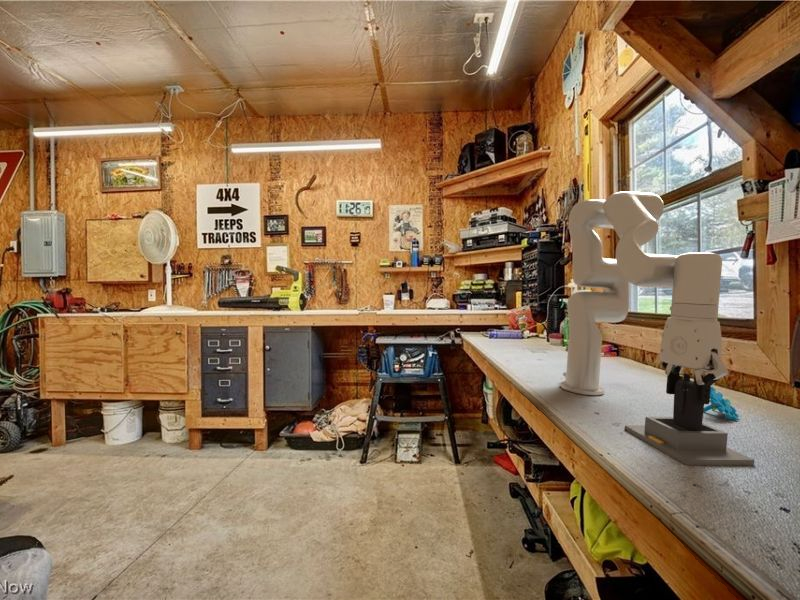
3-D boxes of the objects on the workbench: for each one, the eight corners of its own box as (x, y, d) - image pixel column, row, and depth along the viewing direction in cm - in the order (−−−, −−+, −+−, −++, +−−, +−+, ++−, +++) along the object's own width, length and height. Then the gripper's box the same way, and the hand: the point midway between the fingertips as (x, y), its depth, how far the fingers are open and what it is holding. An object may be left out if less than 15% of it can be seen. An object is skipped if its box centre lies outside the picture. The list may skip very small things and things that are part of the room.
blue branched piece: (731, 418, 88) (701, 382, 94) (708, 428, 91) (680, 393, 98) (749, 418, 93) (719, 384, 99) (726, 427, 97) (698, 394, 103)
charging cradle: (624, 429, 82) (625, 410, 82) (680, 430, 83) (681, 411, 83) (685, 465, 66) (687, 441, 66) (754, 465, 67) (756, 441, 67)
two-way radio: (706, 433, 72) (713, 360, 71) (687, 433, 71) (694, 360, 70) (680, 422, 77) (686, 355, 76) (663, 423, 77) (669, 354, 76)
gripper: (644, 309, 81) (638, 386, 82) (717, 315, 64) (709, 413, 65) (674, 310, 82) (668, 387, 83) (755, 317, 65) (746, 413, 66)
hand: (686, 397), depth 74 cm, fingers closed on two-way radio, 5 cm apart
